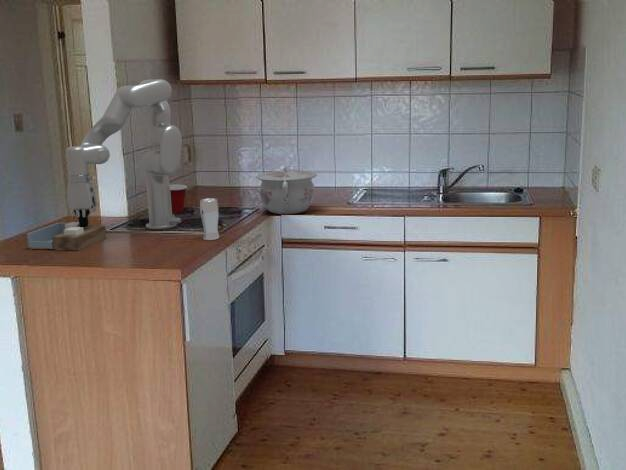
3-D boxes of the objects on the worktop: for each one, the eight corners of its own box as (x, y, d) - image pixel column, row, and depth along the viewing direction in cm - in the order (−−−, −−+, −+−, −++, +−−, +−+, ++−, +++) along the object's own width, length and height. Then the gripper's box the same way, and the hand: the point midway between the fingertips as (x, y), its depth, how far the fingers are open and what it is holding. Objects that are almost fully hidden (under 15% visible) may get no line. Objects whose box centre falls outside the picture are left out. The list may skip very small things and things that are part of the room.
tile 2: (83, 232, 260) (83, 227, 259) (76, 235, 255) (75, 230, 254) (71, 232, 261) (71, 227, 260) (64, 235, 256) (63, 229, 256)
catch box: (82, 237, 274) (81, 223, 273) (52, 250, 255) (50, 234, 254) (60, 237, 276) (58, 222, 275) (28, 249, 258) (26, 233, 256)
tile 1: (84, 227, 269) (83, 222, 269) (77, 230, 265) (76, 224, 264) (72, 227, 270) (72, 222, 270) (65, 229, 266) (64, 224, 265)
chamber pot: (285, 204, 332) (283, 161, 328) (330, 209, 315) (329, 164, 310) (243, 214, 311) (241, 168, 307) (289, 220, 294) (288, 172, 289)
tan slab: (106, 238, 271) (105, 226, 270) (77, 250, 253) (76, 237, 251) (83, 237, 274) (82, 225, 273) (53, 250, 255) (52, 236, 254)
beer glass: (211, 235, 270) (209, 197, 267) (224, 237, 266) (221, 199, 263) (198, 239, 265) (195, 200, 262) (210, 241, 261) (208, 201, 258)
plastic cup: (171, 214, 317) (169, 188, 314) (161, 211, 325) (159, 186, 322) (193, 211, 323) (191, 185, 320) (182, 208, 331) (180, 183, 329)
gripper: (102, 177, 264) (106, 225, 268) (67, 177, 268) (72, 224, 272) (91, 180, 257) (96, 229, 261) (55, 180, 260) (61, 228, 264)
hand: (84, 226), depth 266 cm, fingers closed
